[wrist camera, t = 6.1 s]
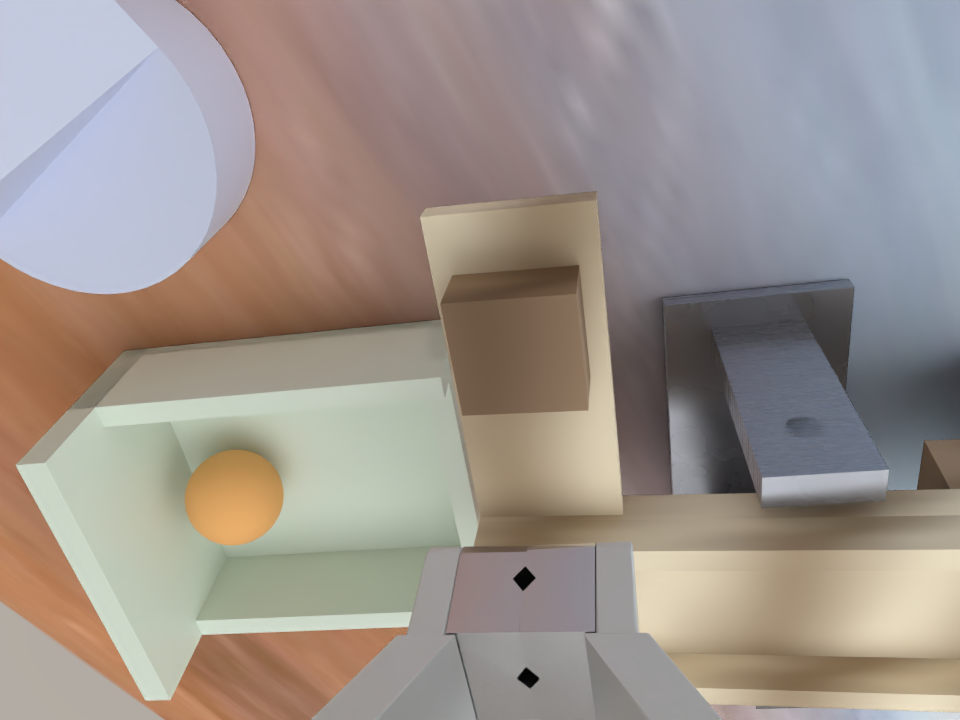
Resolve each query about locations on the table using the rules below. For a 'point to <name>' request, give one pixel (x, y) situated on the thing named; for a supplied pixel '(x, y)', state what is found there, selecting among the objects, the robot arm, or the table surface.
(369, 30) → the table surface
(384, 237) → the table surface
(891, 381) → the table surface
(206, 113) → the wedge on round base
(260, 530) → the ball
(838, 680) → the lever
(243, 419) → the tray
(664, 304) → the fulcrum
